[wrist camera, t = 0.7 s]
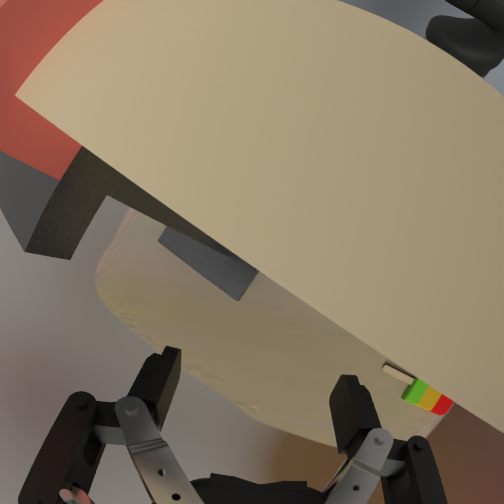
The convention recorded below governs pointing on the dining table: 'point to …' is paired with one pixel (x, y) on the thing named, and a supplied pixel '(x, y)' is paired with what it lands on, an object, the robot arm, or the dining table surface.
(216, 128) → the mallet
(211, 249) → the stand
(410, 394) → the popsicle
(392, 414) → the dining table surface
